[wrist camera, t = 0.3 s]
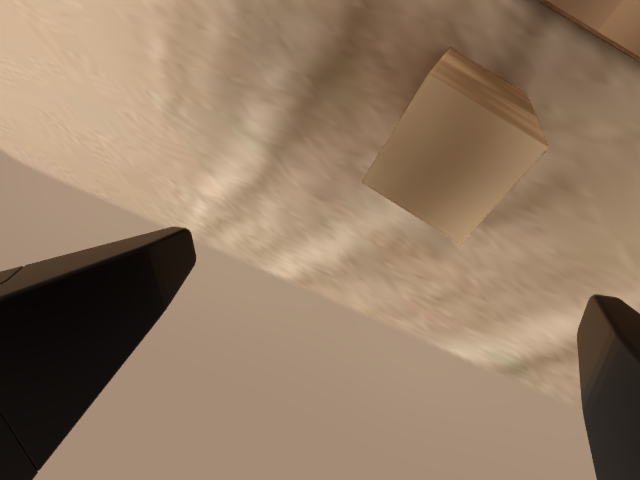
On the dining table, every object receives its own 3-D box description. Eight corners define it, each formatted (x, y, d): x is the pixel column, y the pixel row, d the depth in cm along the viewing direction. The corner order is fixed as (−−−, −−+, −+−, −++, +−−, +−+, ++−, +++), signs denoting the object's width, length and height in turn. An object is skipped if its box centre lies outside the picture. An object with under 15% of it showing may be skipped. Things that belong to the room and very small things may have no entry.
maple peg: (526, 94, 18) (548, 147, 11) (469, 166, 20) (460, 244, 14) (449, 47, 18) (428, 73, 12) (401, 124, 20) (361, 181, 14)
